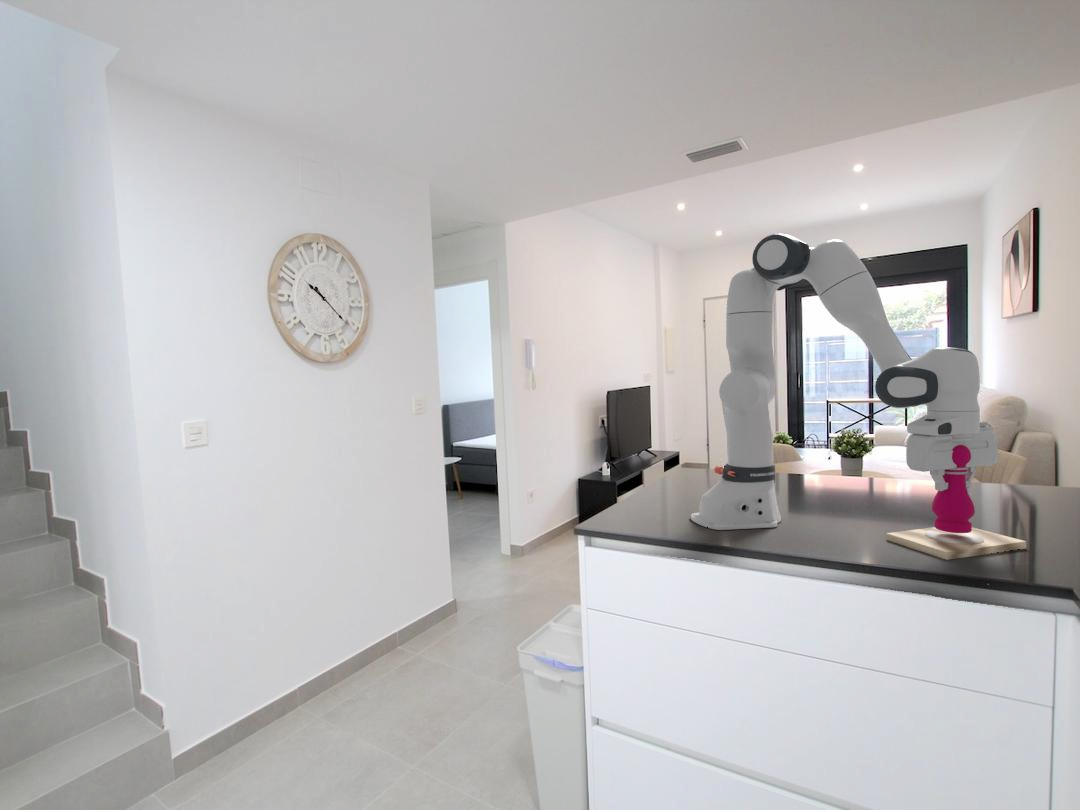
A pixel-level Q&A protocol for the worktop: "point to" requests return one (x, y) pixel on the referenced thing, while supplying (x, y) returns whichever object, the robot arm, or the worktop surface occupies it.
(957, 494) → the pepper mill
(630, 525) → the worktop surface
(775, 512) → the robot arm
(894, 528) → the worktop surface
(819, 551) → the worktop surface
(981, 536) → the oak board
